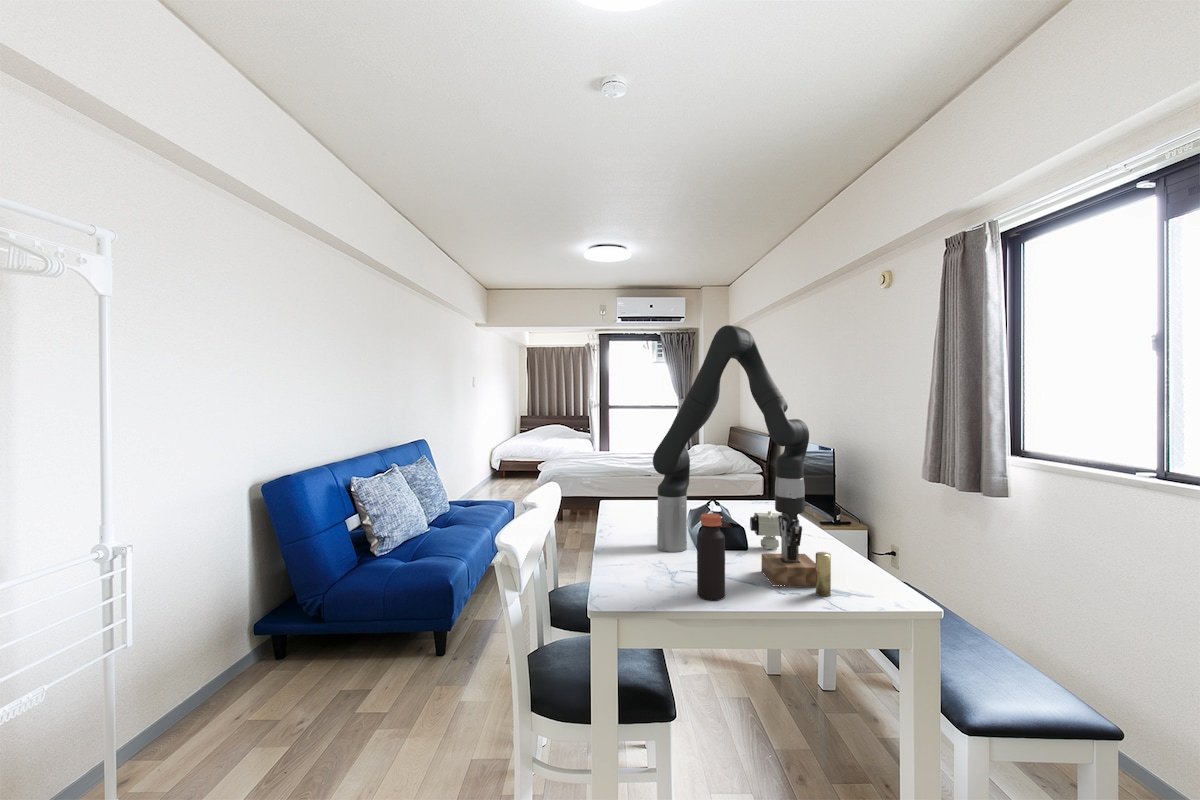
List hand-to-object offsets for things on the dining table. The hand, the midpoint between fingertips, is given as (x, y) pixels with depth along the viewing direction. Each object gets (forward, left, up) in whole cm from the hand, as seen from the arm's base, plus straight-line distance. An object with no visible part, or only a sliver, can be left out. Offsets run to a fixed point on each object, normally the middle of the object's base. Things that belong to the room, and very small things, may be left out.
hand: (789, 557), depth 150 cm
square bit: (0, 0, -3) cm, 3 cm away
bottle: (-23, -13, -6) cm, 27 cm away
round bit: (+5, -11, -6) cm, 13 cm away
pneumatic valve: (+2, +28, -6) cm, 29 cm away
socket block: (0, 0, -6) cm, 6 cm away
